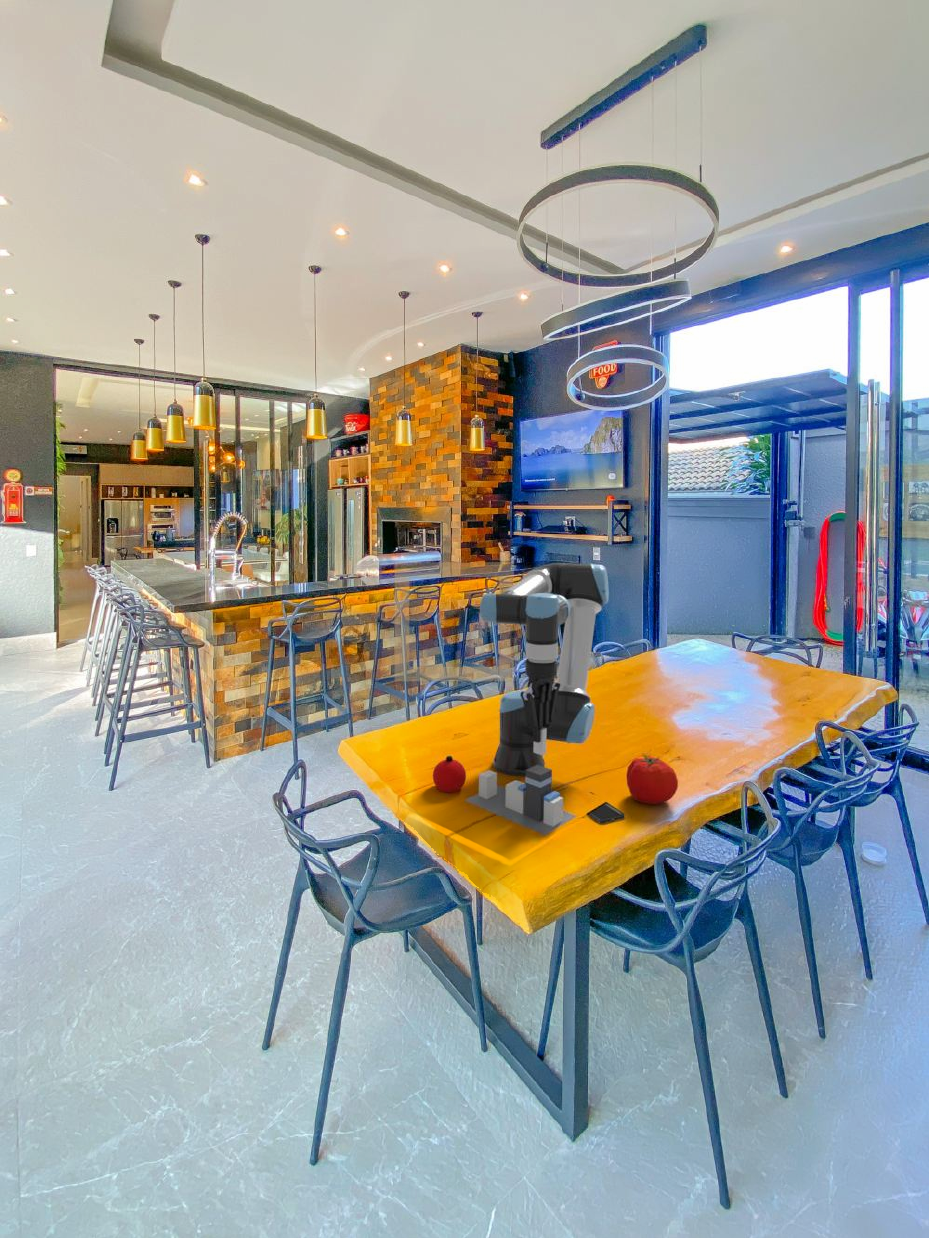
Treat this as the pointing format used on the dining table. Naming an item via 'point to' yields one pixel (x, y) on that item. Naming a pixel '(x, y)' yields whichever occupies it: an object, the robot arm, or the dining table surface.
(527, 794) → the plug
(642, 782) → the tomato
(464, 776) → the ornament
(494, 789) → the grey plate with blocks
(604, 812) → the phone
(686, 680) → the dining table surface
